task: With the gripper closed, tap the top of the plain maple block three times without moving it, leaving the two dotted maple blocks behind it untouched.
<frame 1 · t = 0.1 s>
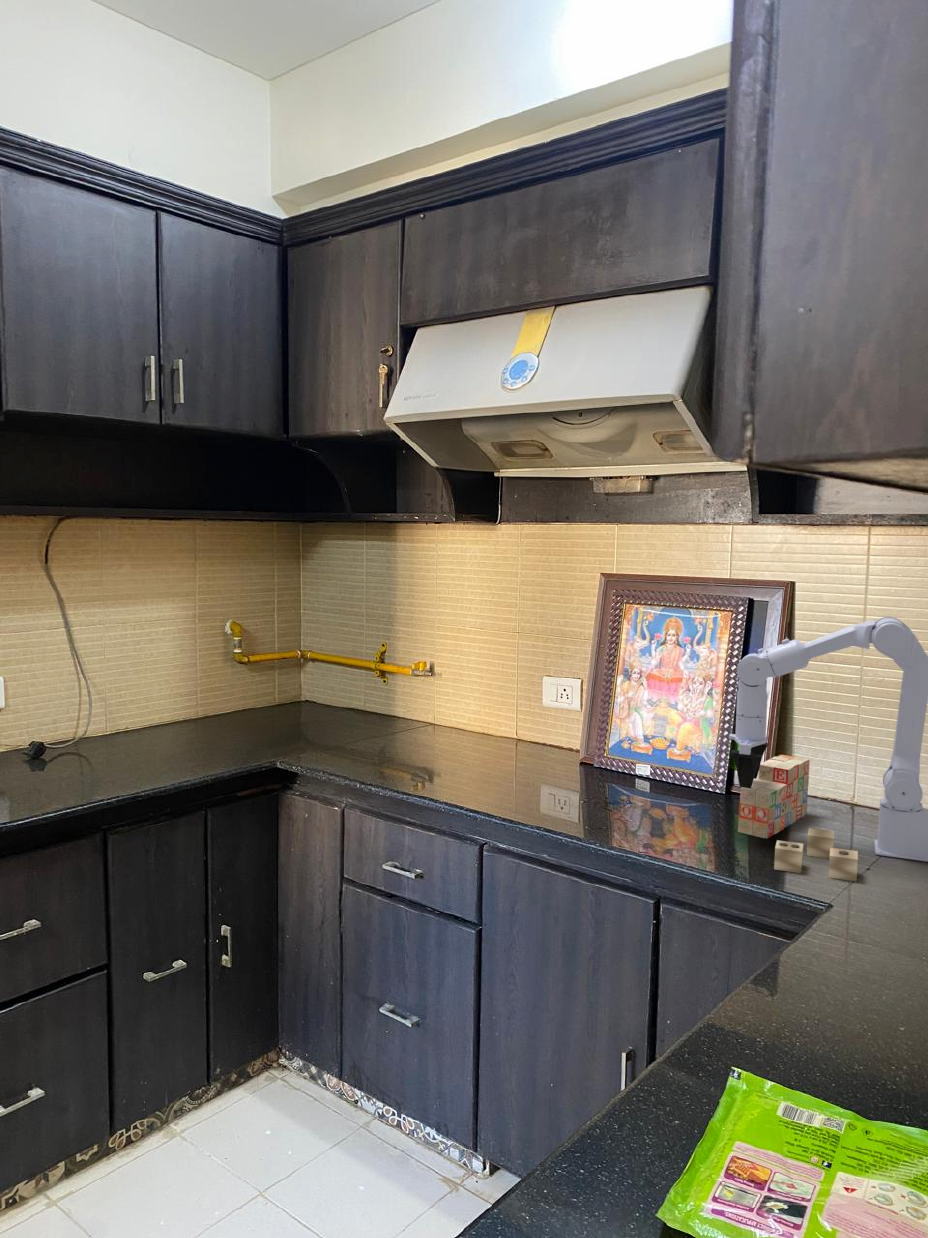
hand: (748, 782, 183), 10 cm above the worktop, tool pointing down, fingers open, 7 cm apart
stack of blocks: (773, 824, 190), on the worktop
one-dot maple block: (842, 875, 162), on the worktop
plain maple block: (819, 854, 172), on the worktop
two-dot maple block: (788, 867, 165), on the worktop
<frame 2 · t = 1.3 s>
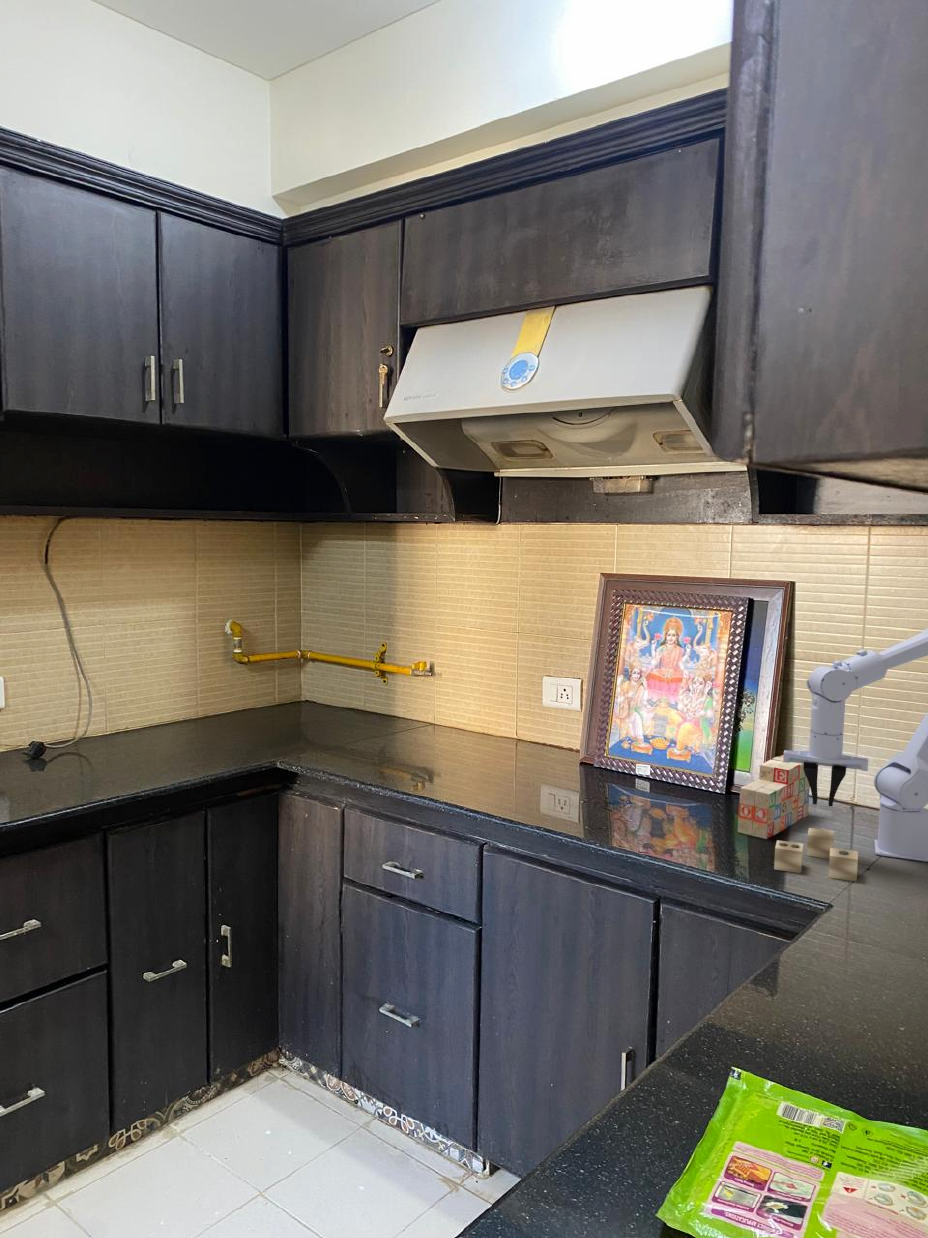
hand: (822, 804, 172), 9 cm above the worktop, tool pointing down, fingers closed
nothing on the worktop moved.
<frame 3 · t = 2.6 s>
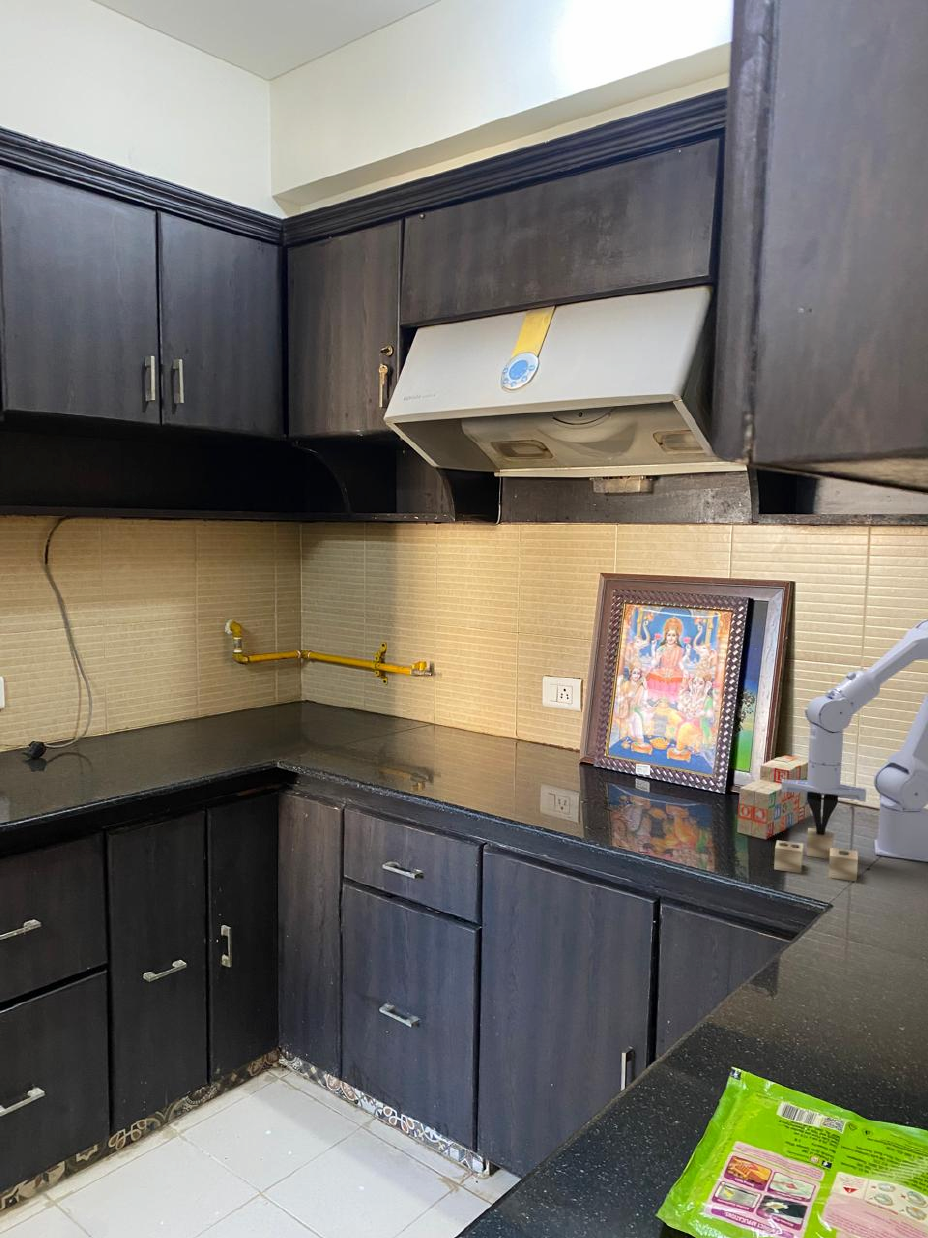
hand: (820, 833, 172), 4 cm above the worktop, tool pointing down, fingers closed, pressing on plain maple block
plain maple block: (819, 854, 172), on the worktop, touching gripper
everything else where it was.
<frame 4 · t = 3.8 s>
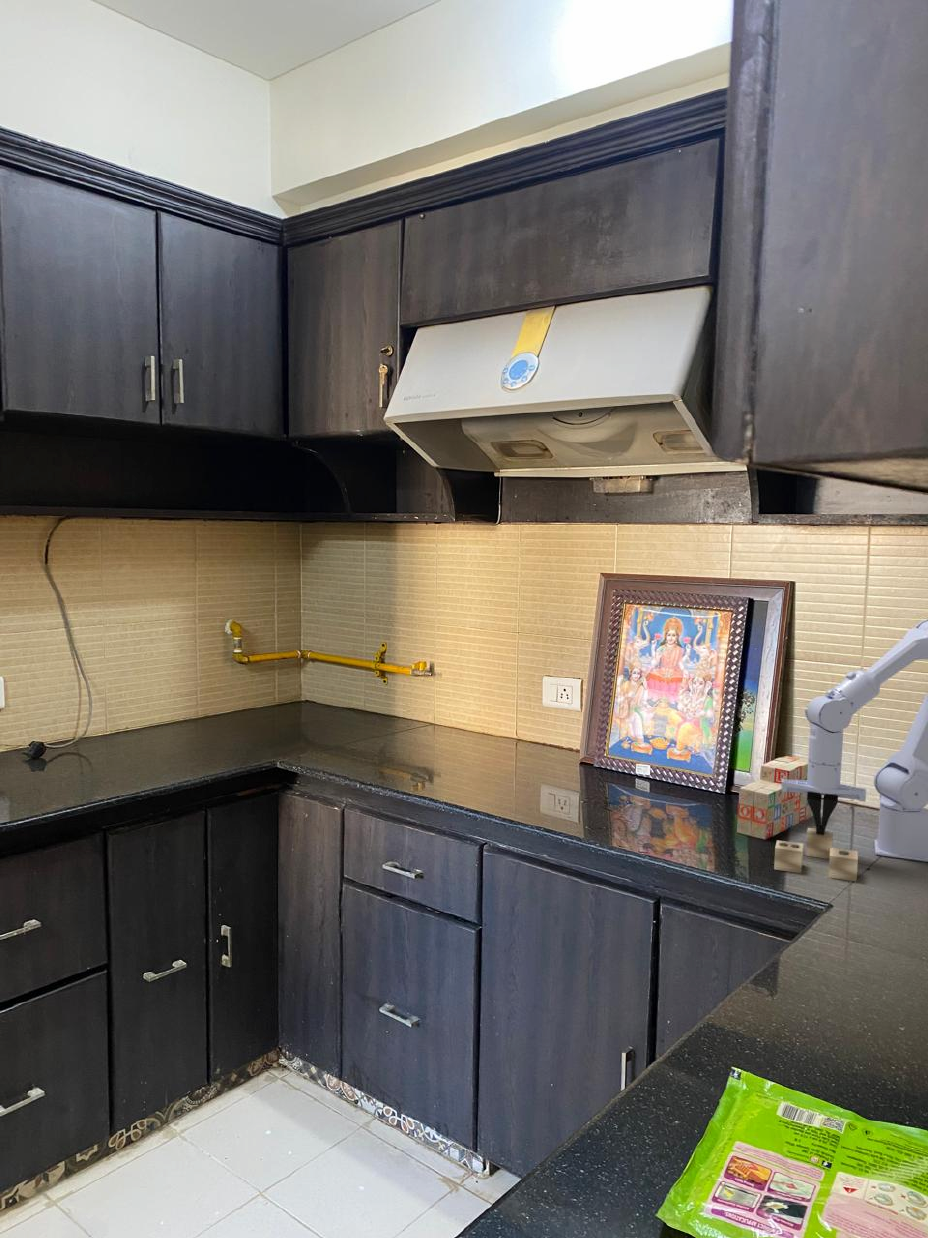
hand: (820, 833, 172), 4 cm above the worktop, tool pointing down, fingers closed, pressing on plain maple block
plain maple block: (818, 853, 172), on the worktop, touching gripper
everything else where it was.
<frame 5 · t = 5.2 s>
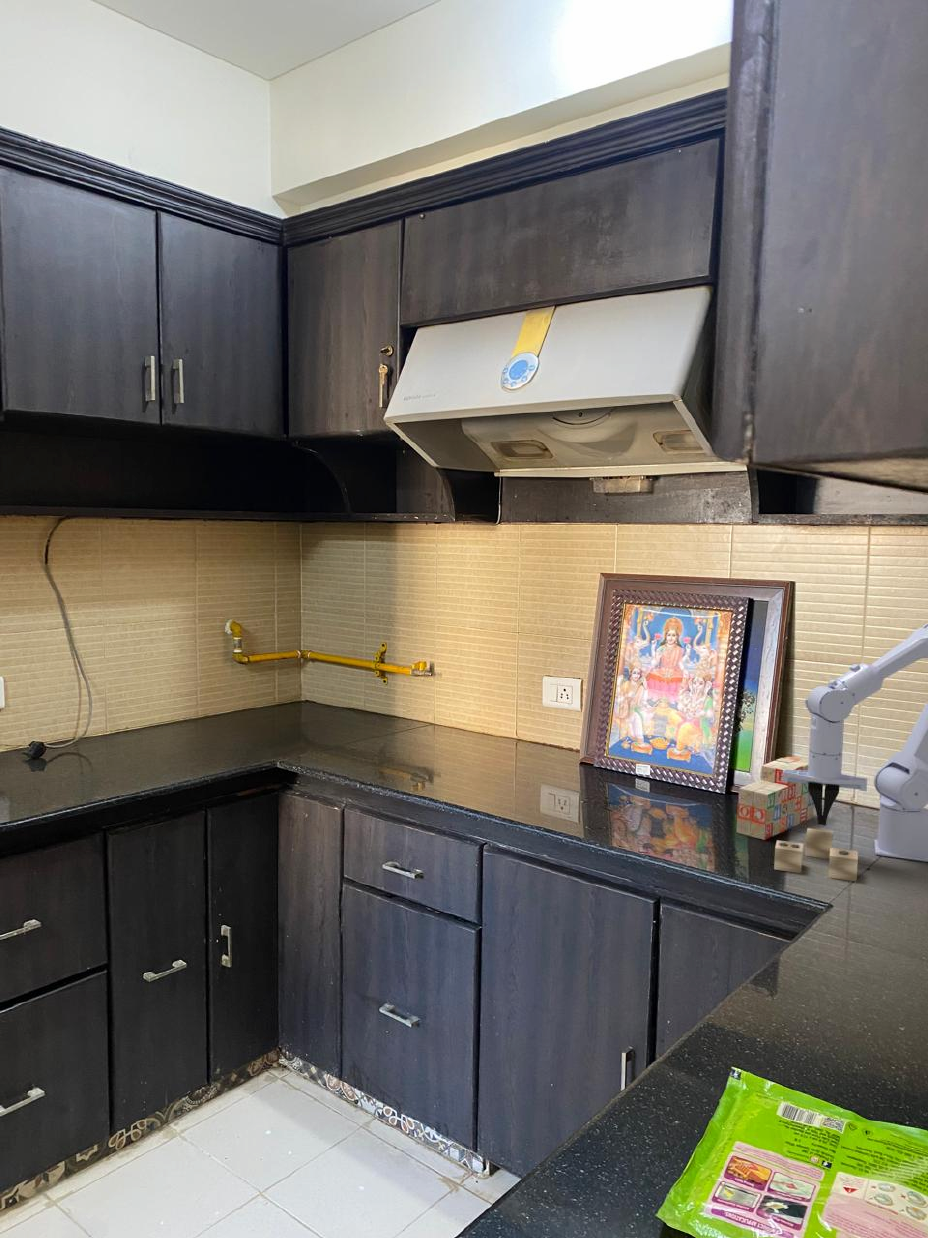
hand: (821, 823, 172), 6 cm above the worktop, tool pointing down, fingers closed
plain maple block: (818, 854, 172), on the worktop
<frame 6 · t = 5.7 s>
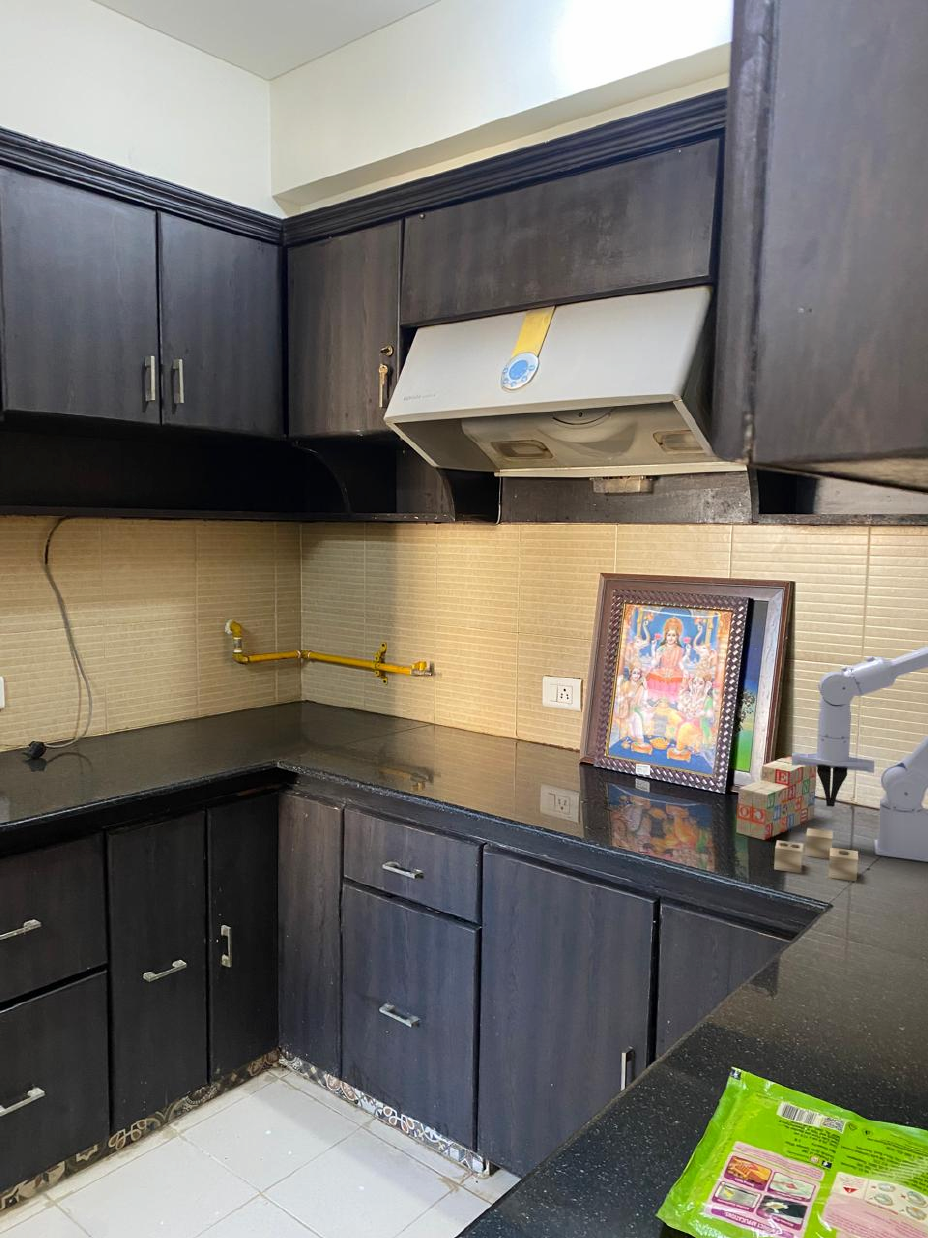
hand: (830, 805, 177), 8 cm above the worktop, tool pointing down, fingers closed
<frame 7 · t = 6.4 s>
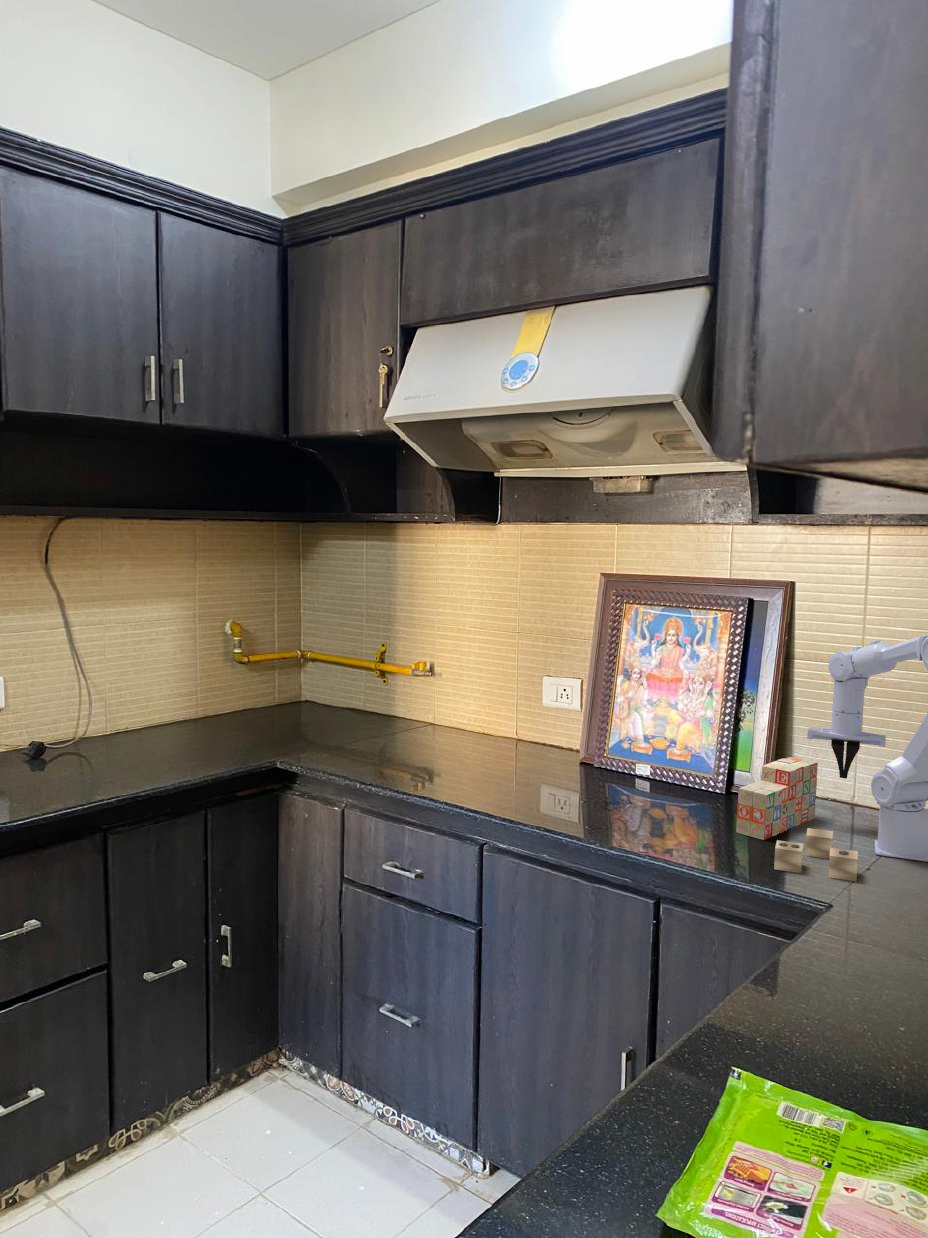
hand: (843, 777, 187), 10 cm above the worktop, tool pointing down, fingers closed
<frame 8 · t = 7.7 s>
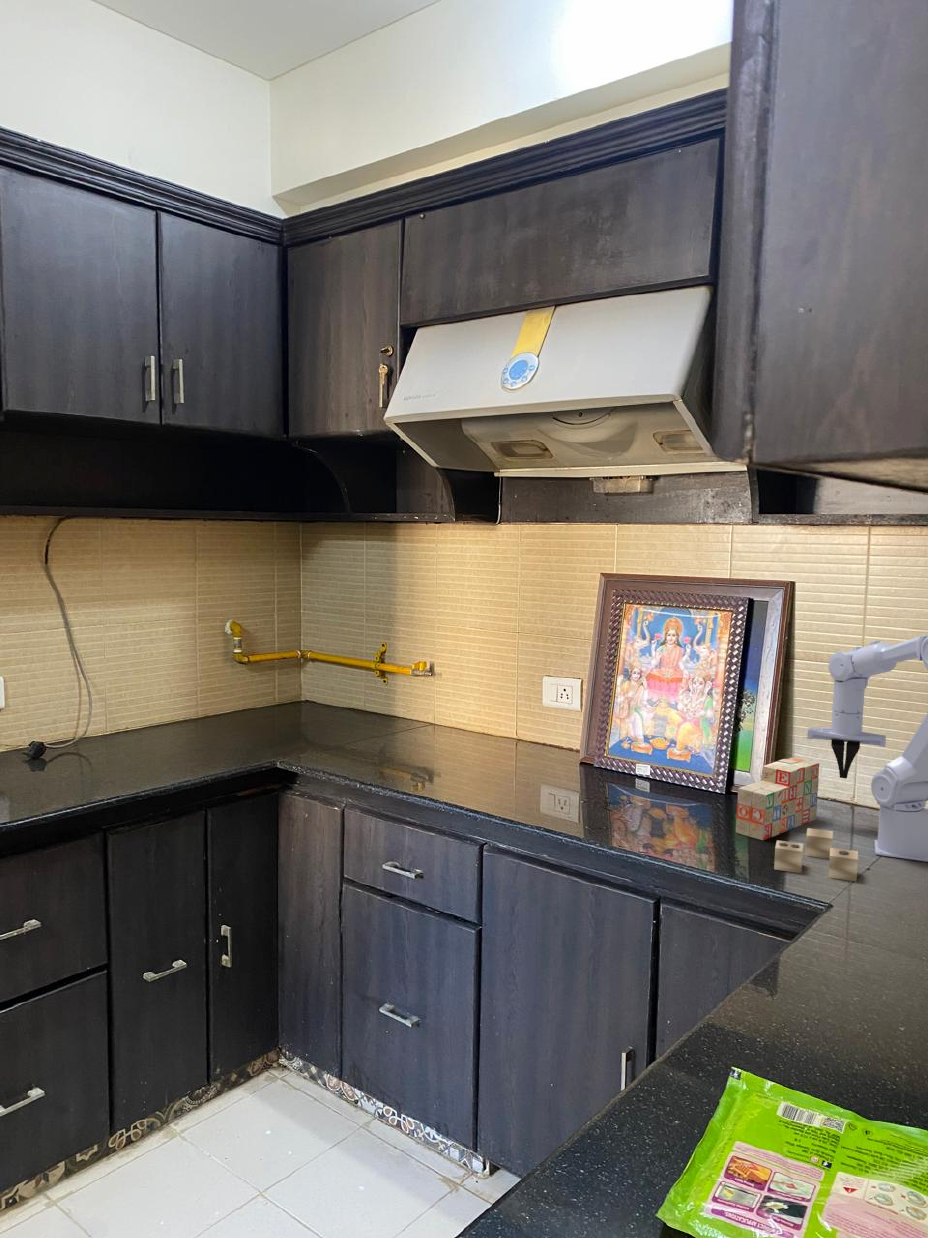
hand: (843, 777, 187), 10 cm above the worktop, tool pointing down, fingers closed
at the end: plain maple block moved 0.3 cm from its start; one-dot maple block moved 0.2 cm from its start; two-dot maple block moved 0.2 cm from its start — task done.
